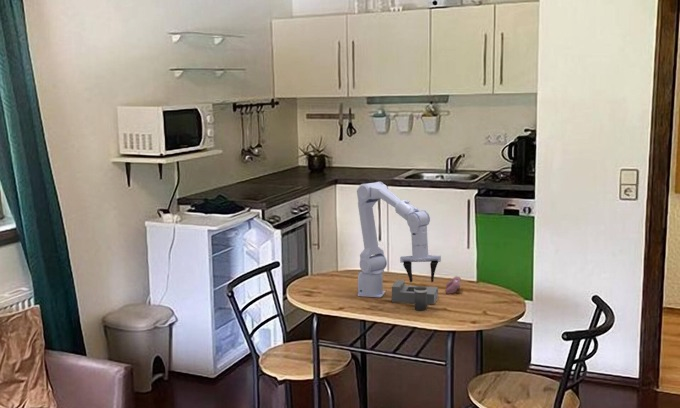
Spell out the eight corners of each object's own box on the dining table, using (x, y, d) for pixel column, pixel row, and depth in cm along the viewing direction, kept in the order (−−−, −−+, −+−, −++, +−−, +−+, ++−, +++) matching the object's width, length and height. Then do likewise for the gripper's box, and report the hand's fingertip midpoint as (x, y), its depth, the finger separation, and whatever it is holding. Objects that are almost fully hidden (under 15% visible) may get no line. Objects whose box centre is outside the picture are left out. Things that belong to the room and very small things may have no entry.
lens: (413, 310, 252) (413, 289, 251) (415, 306, 257) (415, 285, 255) (426, 311, 251) (426, 290, 250) (428, 307, 255) (428, 286, 254)
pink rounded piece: (454, 298, 271) (463, 283, 270) (444, 293, 272) (452, 277, 270) (455, 291, 281) (463, 276, 279) (445, 286, 281) (453, 271, 280)
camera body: (391, 302, 263) (391, 286, 262) (397, 294, 272) (397, 279, 271) (434, 304, 258) (434, 289, 257) (437, 297, 268) (438, 282, 267)
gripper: (398, 247, 249) (400, 284, 250) (439, 245, 246) (441, 283, 247) (400, 243, 256) (402, 279, 257) (440, 242, 253) (442, 279, 254)
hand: (421, 281), depth 253 cm, fingers open, 7 cm apart
